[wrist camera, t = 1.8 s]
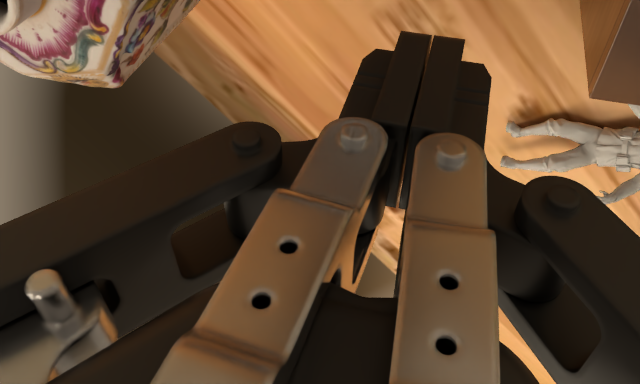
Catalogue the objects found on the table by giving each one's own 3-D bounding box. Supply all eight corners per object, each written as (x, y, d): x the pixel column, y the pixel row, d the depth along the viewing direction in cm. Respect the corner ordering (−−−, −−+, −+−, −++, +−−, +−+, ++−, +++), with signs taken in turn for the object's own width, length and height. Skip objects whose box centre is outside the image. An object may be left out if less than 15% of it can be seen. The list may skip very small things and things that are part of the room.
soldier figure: (511, 78, 38) (723, 81, 31) (534, 91, 42) (727, 96, 35) (493, 189, 39) (698, 219, 31) (517, 192, 43) (705, 219, 35)
